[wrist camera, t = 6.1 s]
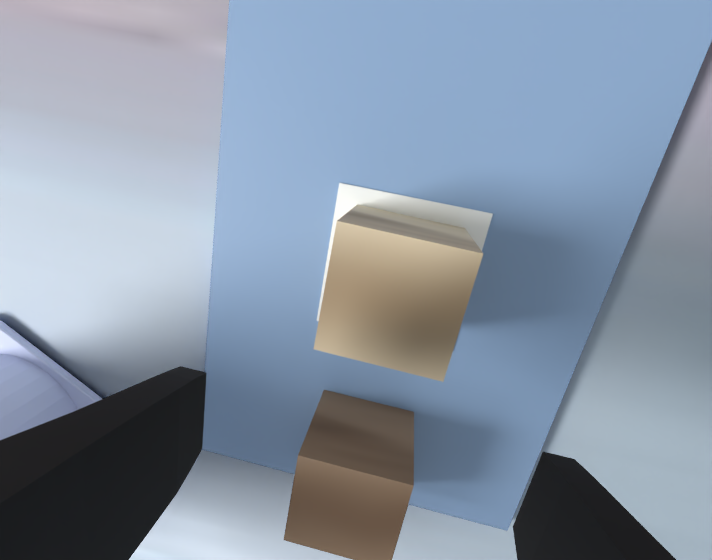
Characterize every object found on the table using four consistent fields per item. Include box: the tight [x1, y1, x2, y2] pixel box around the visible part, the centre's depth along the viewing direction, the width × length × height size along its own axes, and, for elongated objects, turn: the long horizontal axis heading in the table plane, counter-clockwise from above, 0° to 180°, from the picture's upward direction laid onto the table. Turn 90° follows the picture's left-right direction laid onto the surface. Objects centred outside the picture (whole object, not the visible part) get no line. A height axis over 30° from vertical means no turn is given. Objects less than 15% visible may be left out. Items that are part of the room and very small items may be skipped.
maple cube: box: [314, 205, 483, 382], centre depth 13 cm, size 4×4×4 cm
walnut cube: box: [284, 390, 414, 560], centre depth 16 cm, size 4×4×4 cm
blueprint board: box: [202, 0, 712, 530], centre depth 15 cm, size 22×15×1 cm
